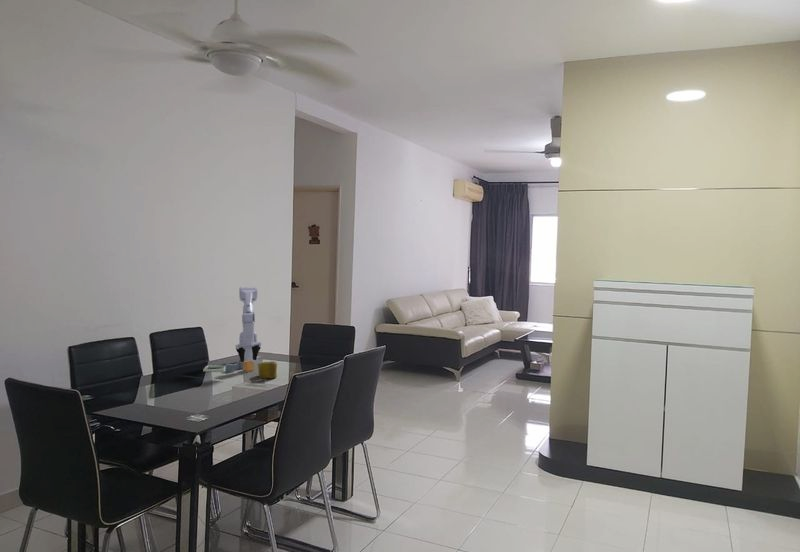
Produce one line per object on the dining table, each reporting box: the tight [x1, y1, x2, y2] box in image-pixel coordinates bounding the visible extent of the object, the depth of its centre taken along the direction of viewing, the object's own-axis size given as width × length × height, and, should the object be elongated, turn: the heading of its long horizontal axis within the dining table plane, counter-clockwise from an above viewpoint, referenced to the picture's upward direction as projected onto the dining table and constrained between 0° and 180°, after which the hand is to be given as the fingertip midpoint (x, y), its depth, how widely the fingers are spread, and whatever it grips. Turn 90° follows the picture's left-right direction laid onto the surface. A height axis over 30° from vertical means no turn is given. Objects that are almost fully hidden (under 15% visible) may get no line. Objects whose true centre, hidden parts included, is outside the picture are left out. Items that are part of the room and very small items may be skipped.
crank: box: [224, 359, 243, 373], centre depth 319 cm, size 12×5×4 cm, turn 158°
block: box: [242, 361, 255, 373], centre depth 317 cm, size 4×4×5 cm
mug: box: [257, 361, 278, 380], centre depth 306 cm, size 12×10×10 cm
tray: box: [202, 364, 225, 372], centre depth 320 cm, size 11×11×2 cm
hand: (248, 360), depth 317 cm, fingers open, 7 cm apart
